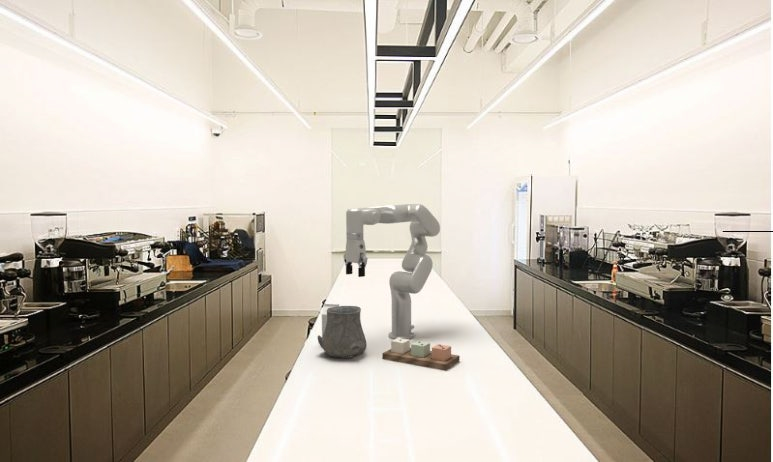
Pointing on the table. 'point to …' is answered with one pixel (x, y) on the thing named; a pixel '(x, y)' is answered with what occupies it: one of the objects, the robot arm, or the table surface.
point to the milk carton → (324, 315)
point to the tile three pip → (441, 352)
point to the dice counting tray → (421, 360)
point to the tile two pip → (420, 349)
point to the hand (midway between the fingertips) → (355, 275)
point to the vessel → (343, 332)
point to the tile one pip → (400, 345)
